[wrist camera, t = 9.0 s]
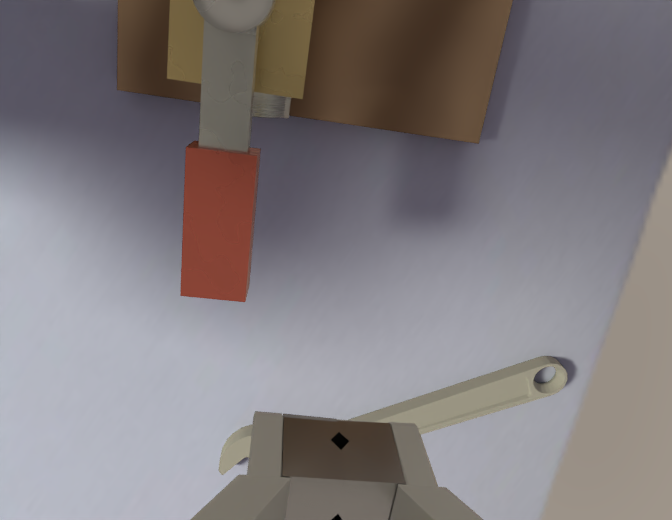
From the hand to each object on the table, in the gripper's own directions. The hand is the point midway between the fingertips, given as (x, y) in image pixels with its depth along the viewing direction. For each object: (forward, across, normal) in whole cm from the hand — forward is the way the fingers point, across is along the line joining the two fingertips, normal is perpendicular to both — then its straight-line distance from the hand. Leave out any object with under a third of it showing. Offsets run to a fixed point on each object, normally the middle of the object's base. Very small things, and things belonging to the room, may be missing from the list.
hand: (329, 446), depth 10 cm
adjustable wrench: (+24, -8, +18) cm, 31 cm away
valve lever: (+14, +4, -3) cm, 15 cm away
